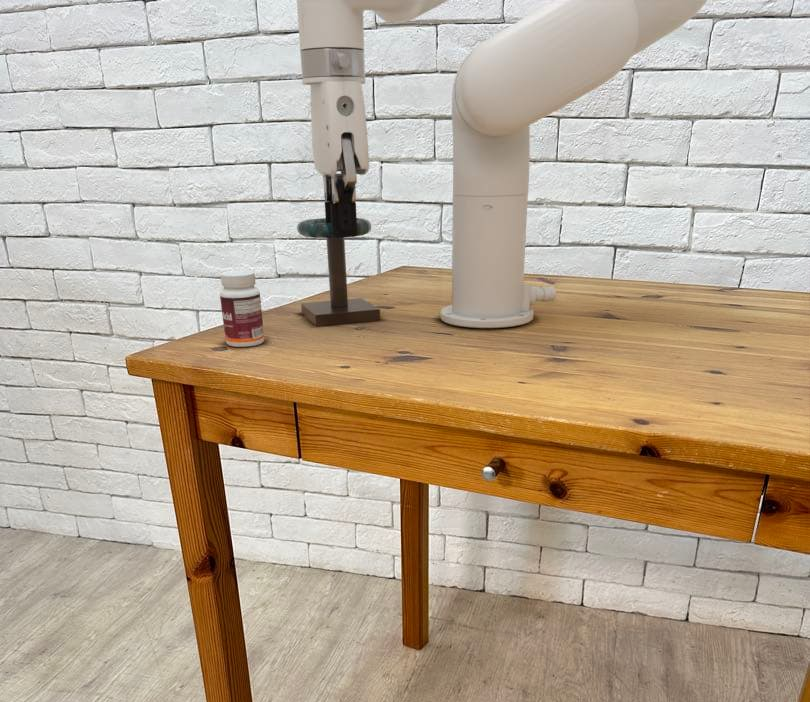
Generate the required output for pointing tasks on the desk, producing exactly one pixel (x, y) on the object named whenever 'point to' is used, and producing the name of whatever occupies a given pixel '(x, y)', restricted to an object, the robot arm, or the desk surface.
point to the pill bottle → (241, 309)
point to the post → (339, 294)
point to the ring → (328, 228)
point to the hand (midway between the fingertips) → (341, 234)
